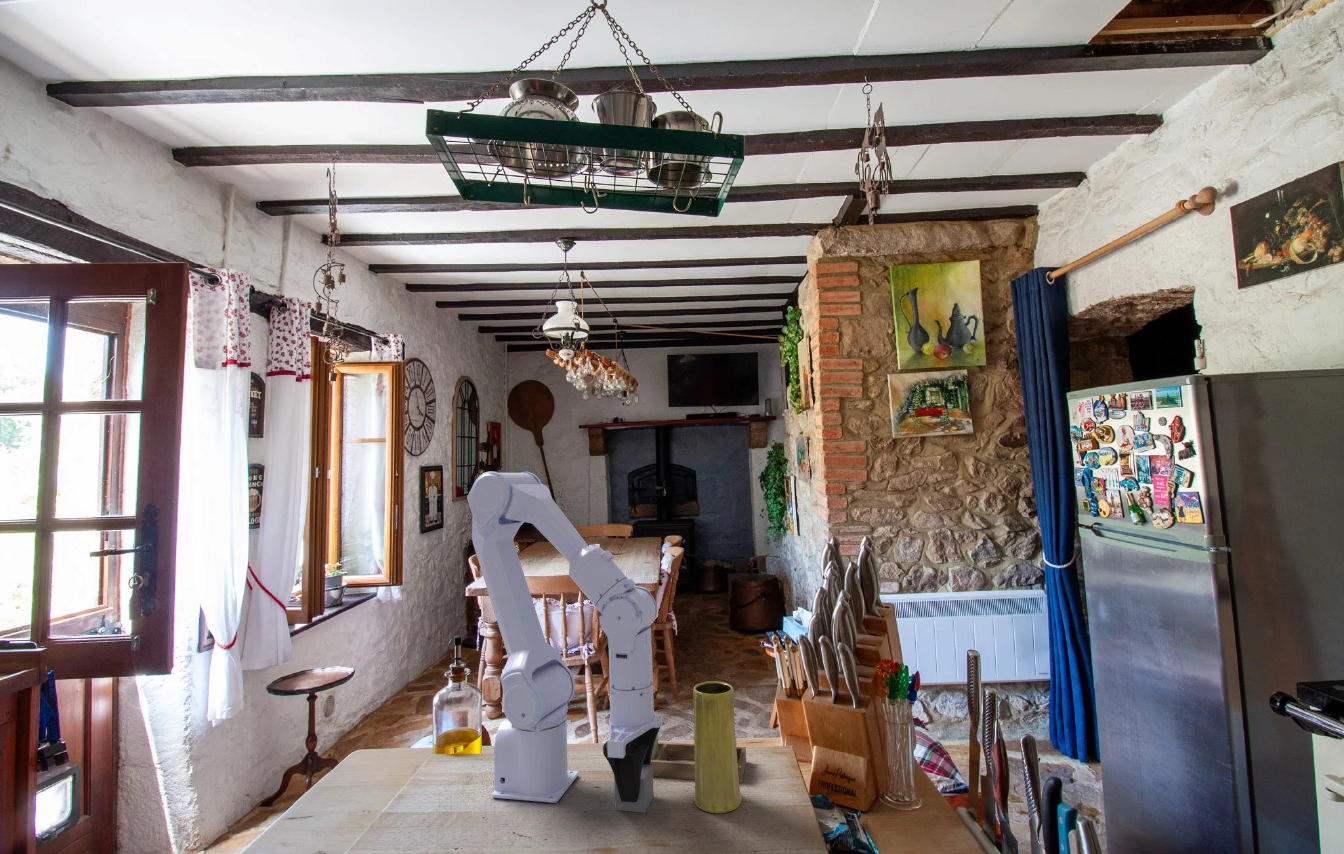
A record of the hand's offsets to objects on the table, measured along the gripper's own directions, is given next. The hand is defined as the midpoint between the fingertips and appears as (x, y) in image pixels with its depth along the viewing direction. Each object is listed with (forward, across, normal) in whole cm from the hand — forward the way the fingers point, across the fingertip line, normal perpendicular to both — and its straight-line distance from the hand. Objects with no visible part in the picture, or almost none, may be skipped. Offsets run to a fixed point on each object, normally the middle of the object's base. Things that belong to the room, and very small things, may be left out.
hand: (634, 791), depth 79 cm
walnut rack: (+1, +10, -4) cm, 11 cm away
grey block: (+1, 0, 0) cm, 1 cm away
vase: (+2, +2, -11) cm, 11 cm away
